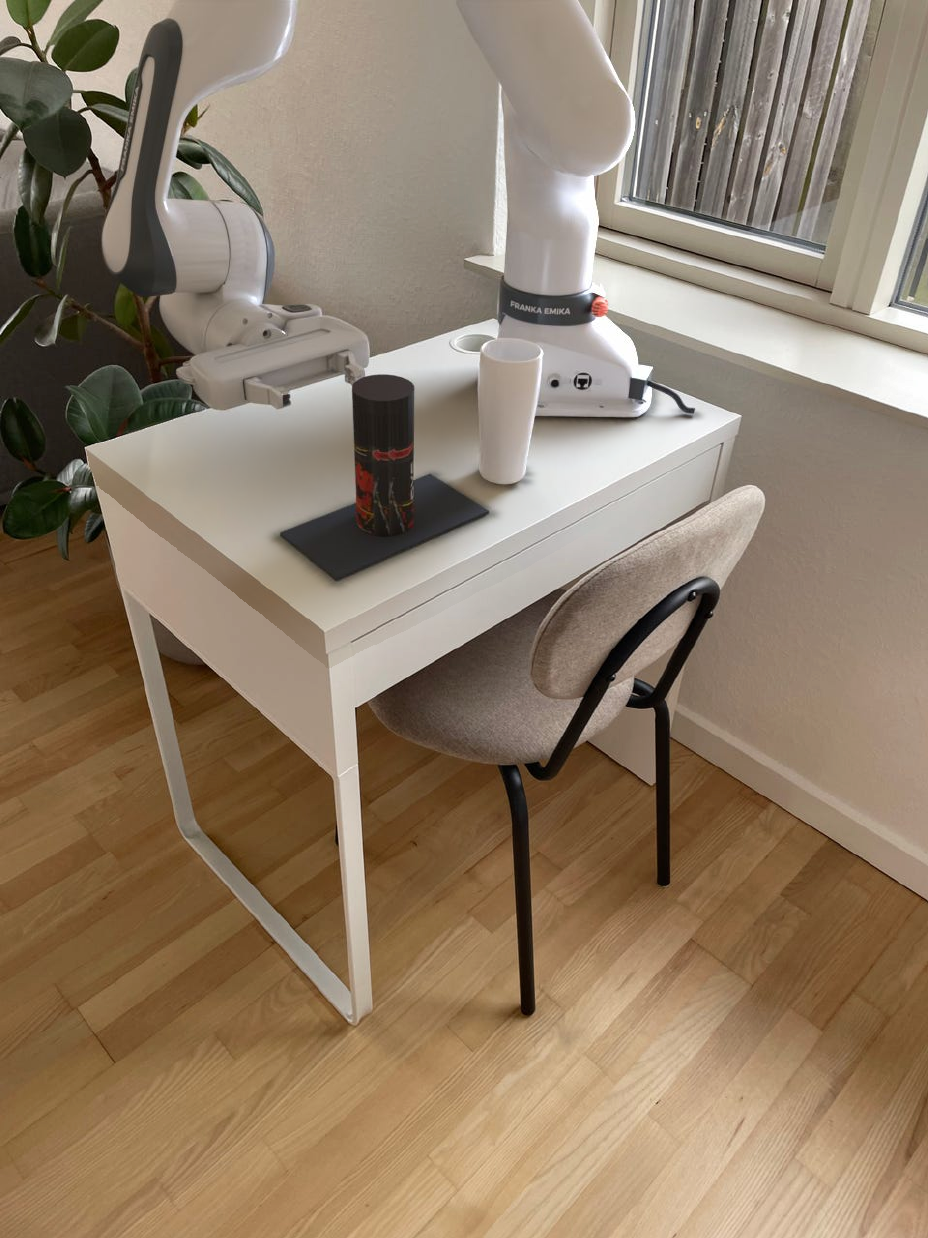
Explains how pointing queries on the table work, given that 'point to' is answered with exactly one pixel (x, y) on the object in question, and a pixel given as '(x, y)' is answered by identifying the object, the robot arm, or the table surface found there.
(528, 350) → the drinking glass
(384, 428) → the deodorant
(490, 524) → the table surface
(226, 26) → the robot arm
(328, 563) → the mat
